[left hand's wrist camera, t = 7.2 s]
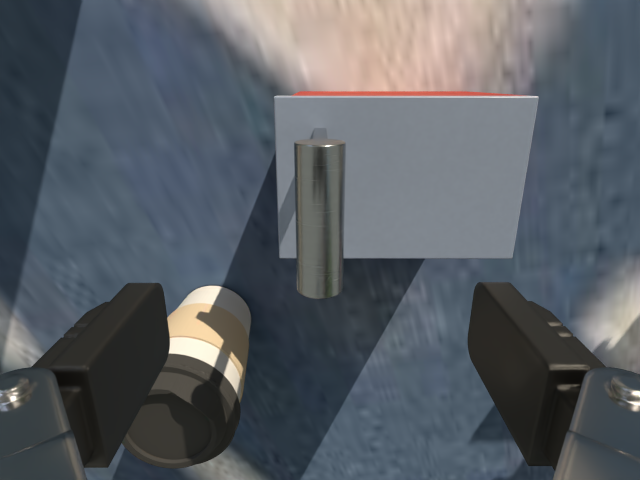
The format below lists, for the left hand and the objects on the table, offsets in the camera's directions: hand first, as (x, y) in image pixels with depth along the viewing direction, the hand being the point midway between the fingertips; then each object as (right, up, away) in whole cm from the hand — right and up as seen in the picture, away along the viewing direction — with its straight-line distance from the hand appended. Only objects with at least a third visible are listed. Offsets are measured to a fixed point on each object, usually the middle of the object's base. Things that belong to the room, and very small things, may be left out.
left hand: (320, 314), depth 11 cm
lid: (+5, +6, +15) cm, 17 cm away
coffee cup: (-10, -6, +31) cm, 33 cm away
